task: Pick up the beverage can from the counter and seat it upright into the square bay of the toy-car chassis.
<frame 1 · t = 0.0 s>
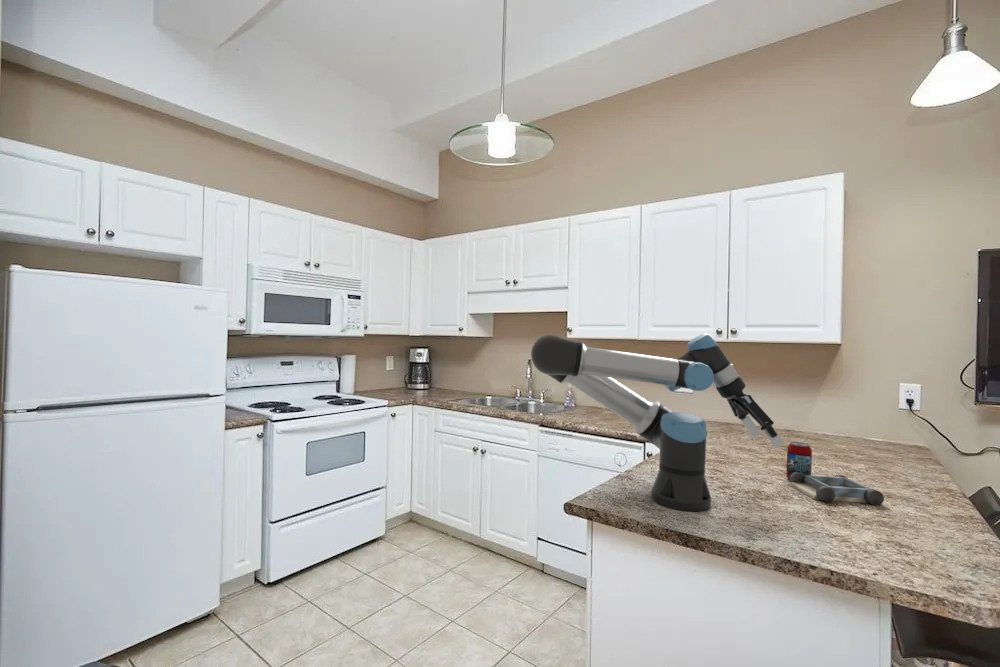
hand: (767, 440, 139), 15 cm above the counter, tool tilted 35°, fingers open, 13 cm apart
beverage can: (798, 481, 152), on the counter
chassis: (833, 494, 139), on the counter
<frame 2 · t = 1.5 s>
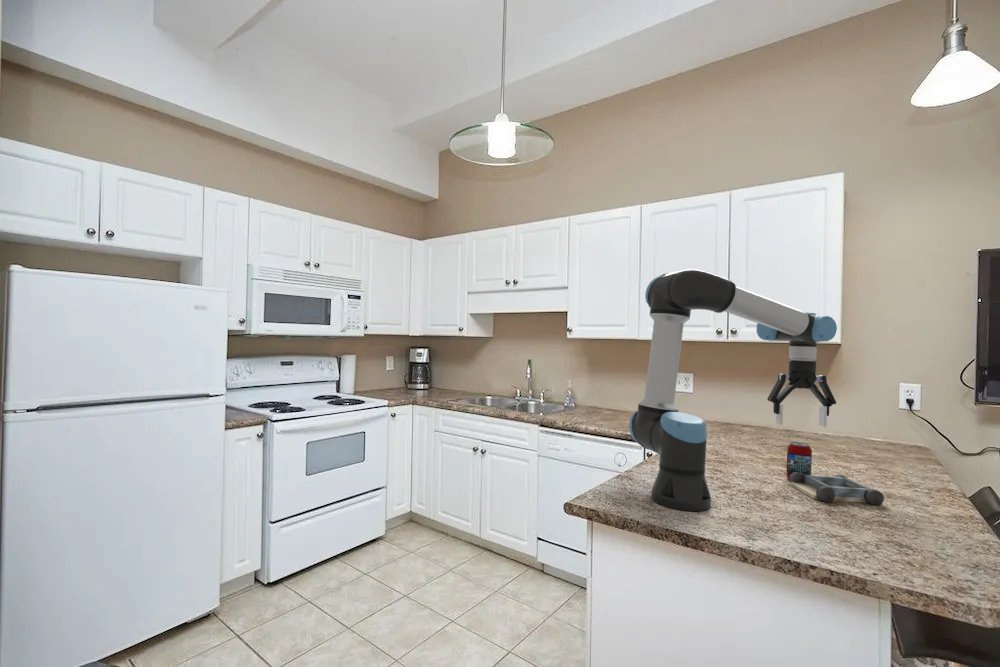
hand: (800, 425, 152), 18 cm above the counter, tool pointing down, fingers open, 13 cm apart
nothing on the counter moved.
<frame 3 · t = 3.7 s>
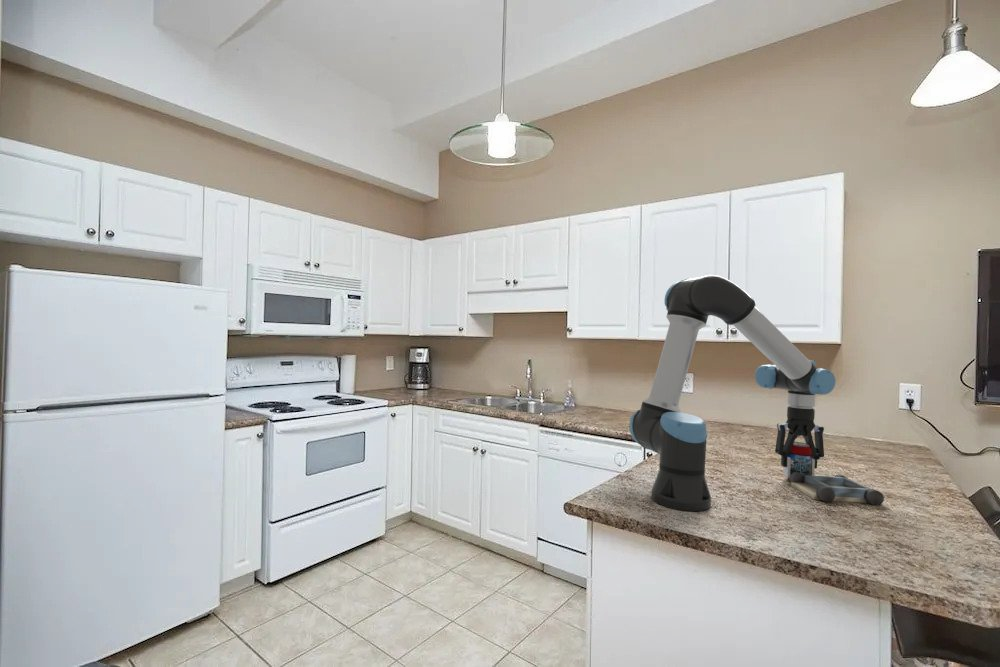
hand: (798, 477, 152), 1 cm above the counter, tool pointing down, fingers closed on beverage can, 7 cm apart
beverage can: (798, 481, 152), on the counter, touching gripper
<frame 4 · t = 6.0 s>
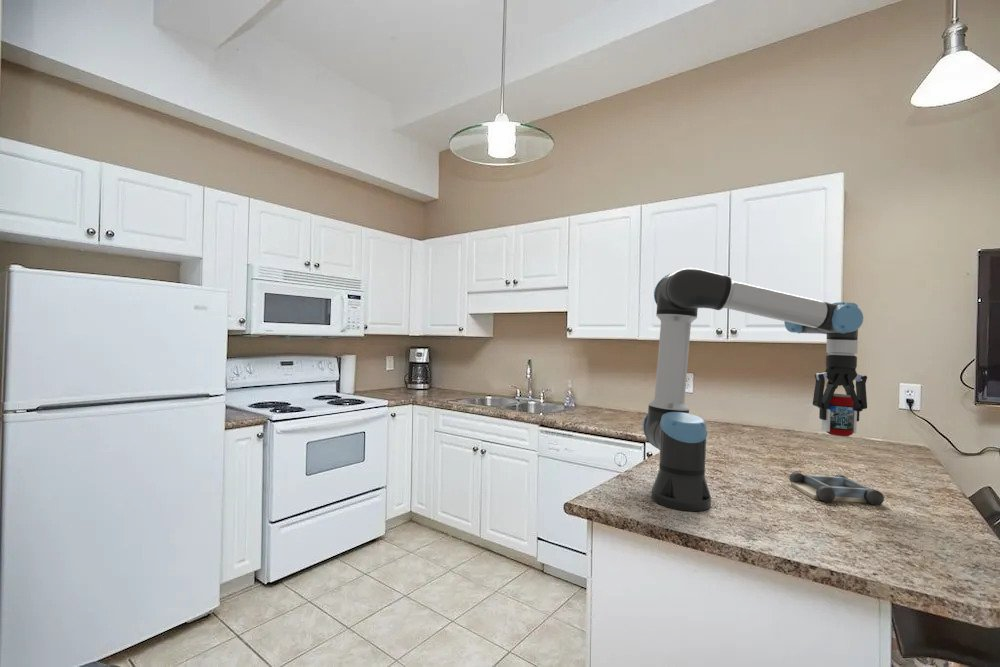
hand: (838, 431, 139), 19 cm above the counter, tool pointing down, fingers closed on beverage can, 7 cm apart
beverage can: (838, 435, 139), point 18 cm above the counter, touching gripper
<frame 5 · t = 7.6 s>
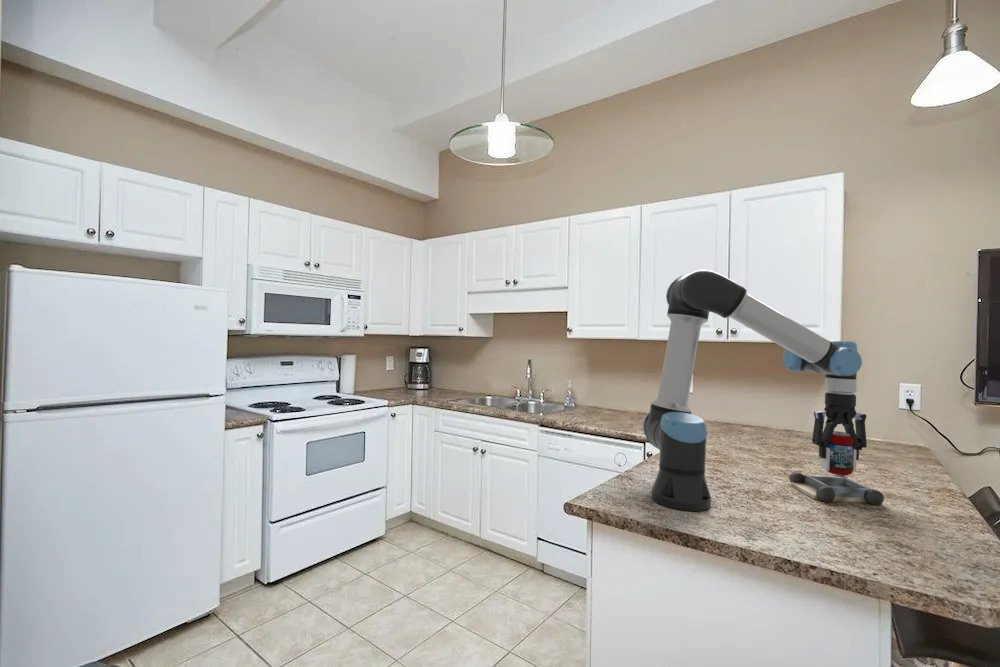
hand: (838, 469, 139), 7 cm above the counter, tool pointing down, fingers closed on beverage can, 7 cm apart
beverage can: (838, 473, 139), point 6 cm above the counter, touching gripper
when the fingers open (4 cm above the counter, at t = 8.6 s): beverage can drops 2 cm, resting on chassis.
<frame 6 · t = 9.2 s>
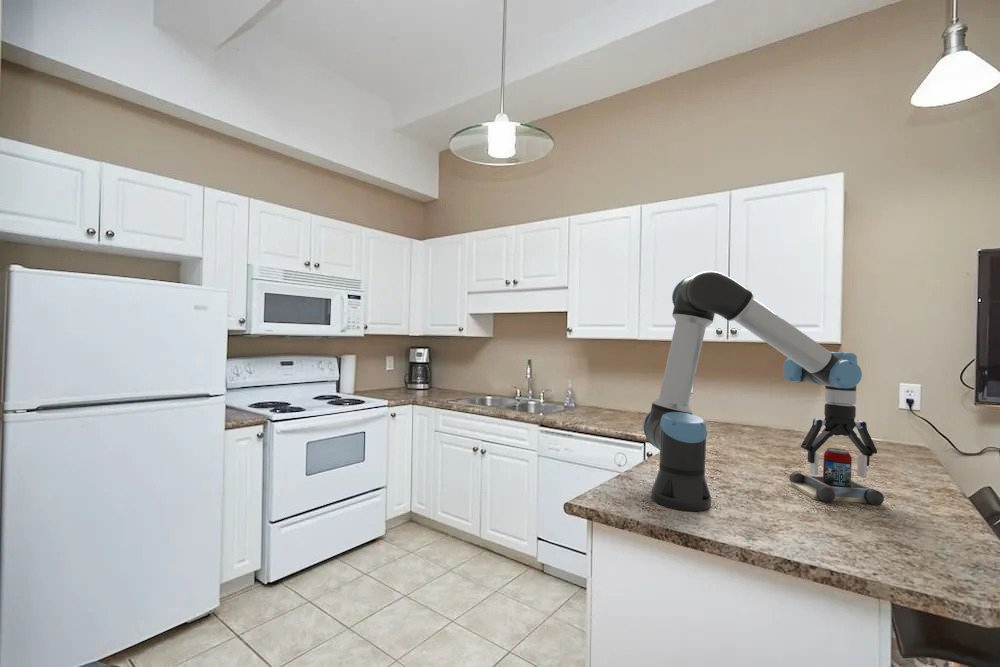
hand: (837, 475, 139), 6 cm above the counter, tool pointing down, fingers open, 13 cm apart
beverage can: (836, 491, 139), point 1 cm above the counter, touching chassis
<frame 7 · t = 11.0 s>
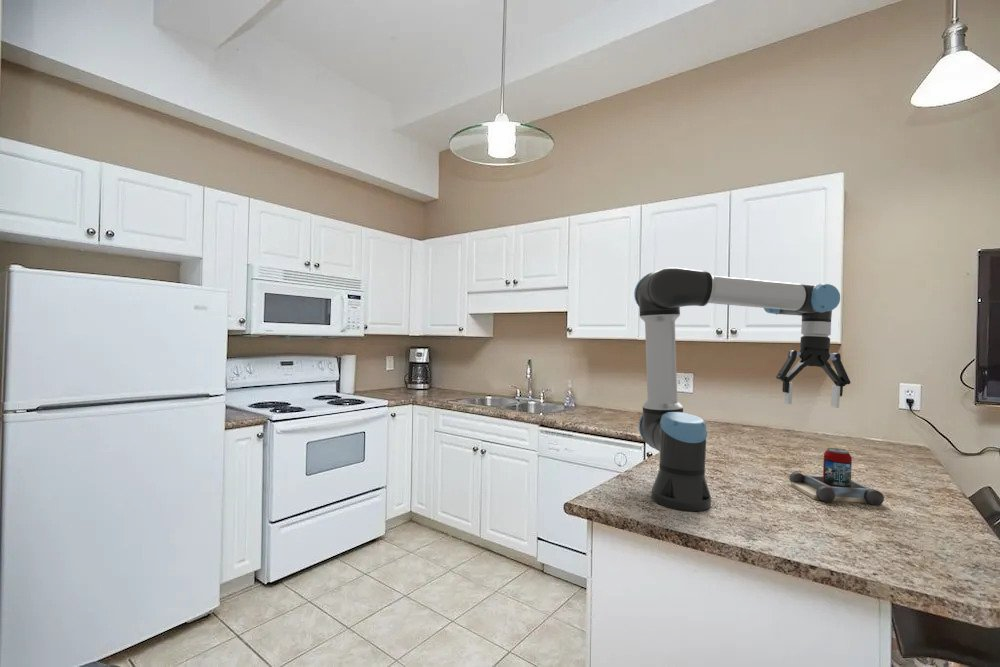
hand: (811, 405, 143), 26 cm above the counter, tool pointing down, fingers open, 13 cm apart
nothing on the counter moved.
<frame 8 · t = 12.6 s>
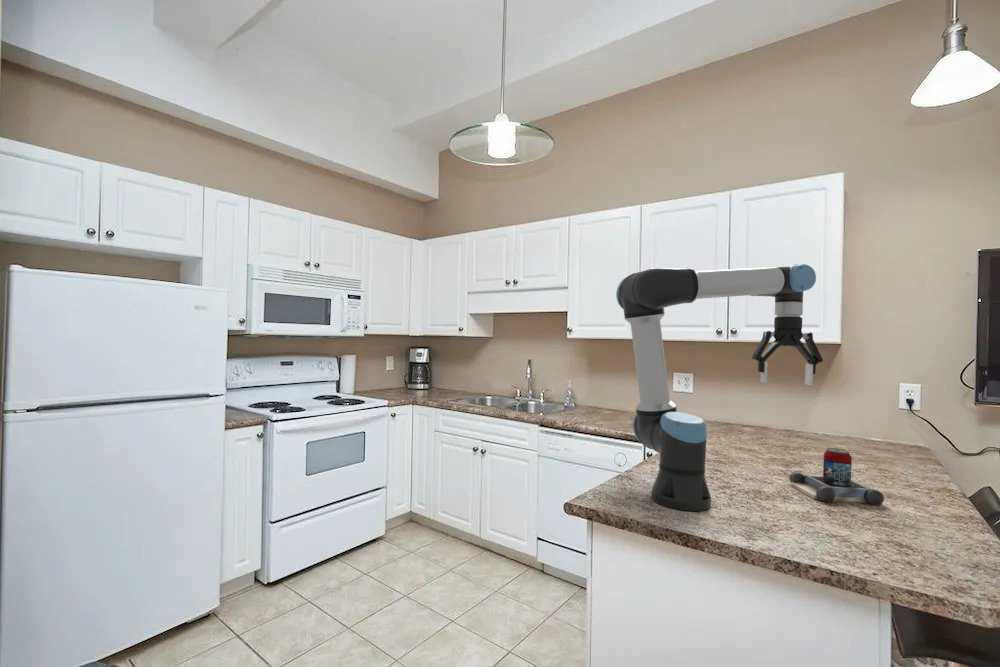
hand: (786, 383, 147), 32 cm above the counter, tool pointing down, fingers open, 13 cm apart
nothing on the counter moved.
at the end: beverage can inside the target area on the chassis (0.2 cm from its centre), point 1.0 cm above the chassis's base; beverage can tilted 0°; the gripper is holding nothing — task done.
